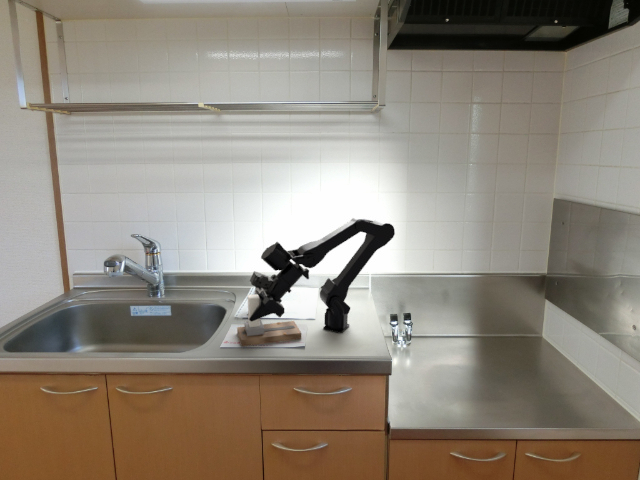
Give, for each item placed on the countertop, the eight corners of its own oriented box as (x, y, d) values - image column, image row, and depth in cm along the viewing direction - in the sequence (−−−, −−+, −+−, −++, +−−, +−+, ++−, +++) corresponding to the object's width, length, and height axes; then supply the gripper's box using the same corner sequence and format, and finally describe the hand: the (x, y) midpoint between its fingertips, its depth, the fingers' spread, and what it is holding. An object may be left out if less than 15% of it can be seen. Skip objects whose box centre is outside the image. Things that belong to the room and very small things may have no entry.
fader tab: (260, 325, 137) (260, 292, 134) (264, 334, 131) (263, 299, 128) (244, 327, 135) (243, 293, 132) (247, 336, 130) (246, 300, 127)
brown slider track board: (293, 326, 142) (293, 320, 141) (301, 338, 133) (301, 332, 133) (237, 333, 136) (237, 326, 136) (241, 346, 128) (241, 339, 128)
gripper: (260, 254, 138) (225, 291, 137) (272, 272, 121) (233, 314, 120) (285, 276, 142) (251, 312, 141) (300, 296, 125) (262, 337, 124)
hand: (249, 318), depth 132 cm, fingers closed on fader tab, 3 cm apart
